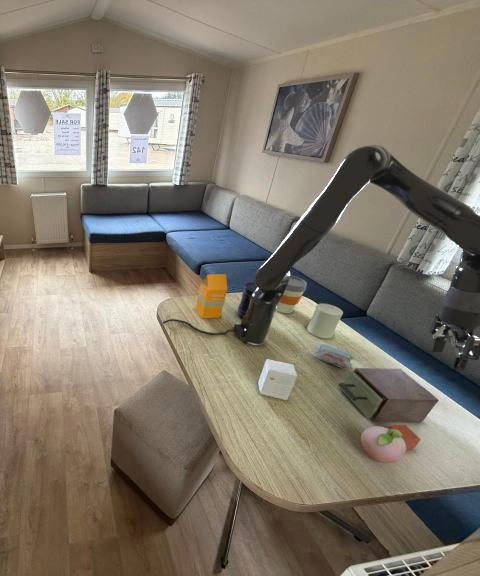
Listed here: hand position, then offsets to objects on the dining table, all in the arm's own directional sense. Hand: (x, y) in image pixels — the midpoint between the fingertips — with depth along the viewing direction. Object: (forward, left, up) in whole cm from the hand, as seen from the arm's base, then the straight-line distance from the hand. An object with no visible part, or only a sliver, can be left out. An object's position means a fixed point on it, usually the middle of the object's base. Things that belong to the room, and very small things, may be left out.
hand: (446, 360), depth 83 cm
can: (+2, +43, -23) cm, 49 cm away
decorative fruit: (-20, -13, -23) cm, 33 cm away
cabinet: (-4, +4, -22) cm, 23 cm away
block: (-10, -9, -22) cm, 26 cm away
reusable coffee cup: (-4, +62, -23) cm, 66 cm away
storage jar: (-24, +54, -23) cm, 64 cm away
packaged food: (-6, +24, -23) cm, 34 cm away
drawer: (-9, +4, -22) cm, 24 cm away
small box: (-36, +9, -23) cm, 44 cm away
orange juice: (-42, +56, -23) cm, 74 cm away
